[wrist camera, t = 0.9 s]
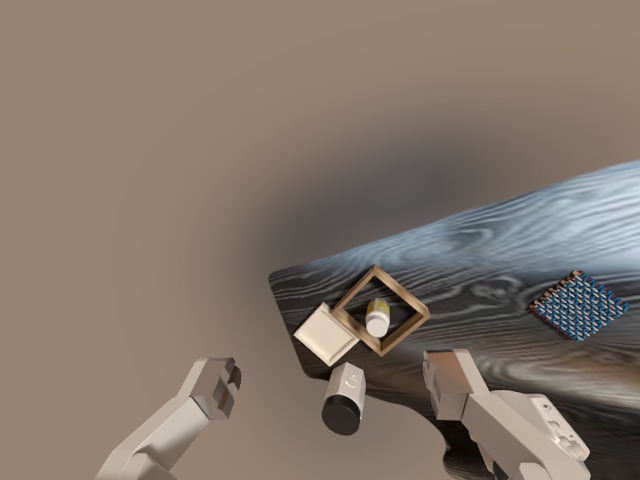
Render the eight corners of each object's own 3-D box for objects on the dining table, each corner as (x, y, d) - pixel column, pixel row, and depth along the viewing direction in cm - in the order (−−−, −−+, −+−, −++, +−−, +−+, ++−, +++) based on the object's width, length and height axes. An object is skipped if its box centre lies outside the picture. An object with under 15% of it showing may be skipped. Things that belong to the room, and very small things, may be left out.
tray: (361, 334, 58) (360, 339, 56) (331, 361, 62) (329, 366, 60) (323, 301, 58) (321, 305, 57) (296, 330, 63) (293, 334, 61)
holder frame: (428, 308, 52) (430, 316, 48) (382, 346, 57) (381, 356, 54) (375, 263, 52) (373, 269, 49) (334, 305, 58) (331, 313, 55)
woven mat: (523, 305, 47) (529, 310, 45) (574, 266, 43) (583, 270, 41) (570, 340, 46) (577, 347, 44) (626, 303, 42) (637, 309, 40)
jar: (371, 373, 60) (367, 418, 48) (360, 395, 62) (353, 443, 51) (338, 356, 61) (326, 396, 50) (328, 379, 64) (314, 422, 53)
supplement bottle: (369, 316, 56) (365, 338, 48) (366, 297, 55) (362, 317, 47) (390, 316, 54) (390, 339, 47) (388, 297, 54) (387, 317, 46)
